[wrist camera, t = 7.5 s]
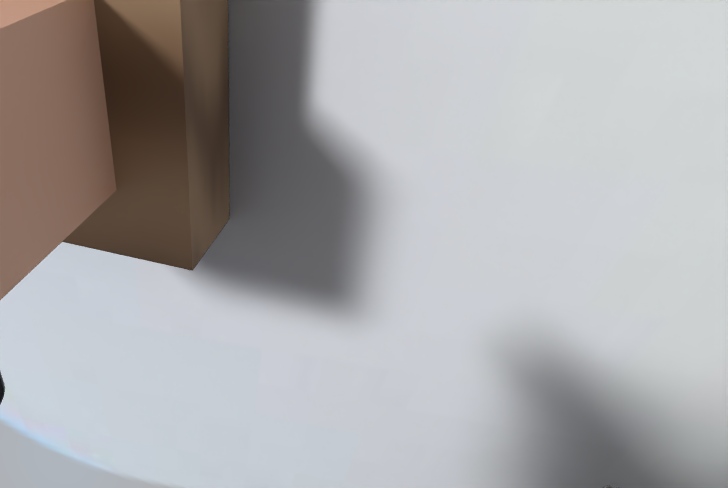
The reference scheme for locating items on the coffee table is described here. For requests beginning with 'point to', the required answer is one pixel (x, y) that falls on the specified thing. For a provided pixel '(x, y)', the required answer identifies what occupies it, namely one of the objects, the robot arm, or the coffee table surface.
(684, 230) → the coffee table surface
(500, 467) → the coffee table surface
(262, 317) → the coffee table surface
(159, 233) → the base slab
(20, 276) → the cube
